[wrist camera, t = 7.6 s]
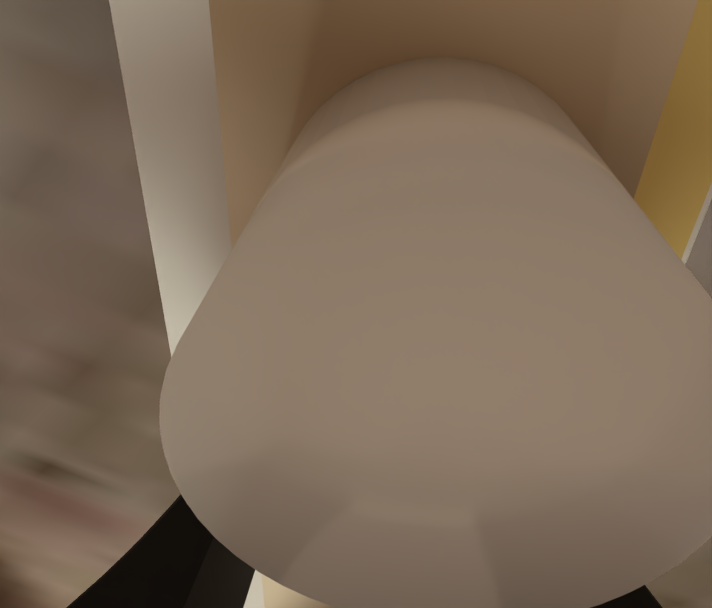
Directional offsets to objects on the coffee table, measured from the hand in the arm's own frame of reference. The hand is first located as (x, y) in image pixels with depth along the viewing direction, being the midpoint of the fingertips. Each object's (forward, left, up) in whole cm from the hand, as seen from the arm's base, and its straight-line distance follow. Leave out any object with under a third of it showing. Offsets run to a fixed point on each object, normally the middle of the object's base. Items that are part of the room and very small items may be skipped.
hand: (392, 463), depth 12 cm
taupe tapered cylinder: (+6, 0, +2) cm, 6 cm away
